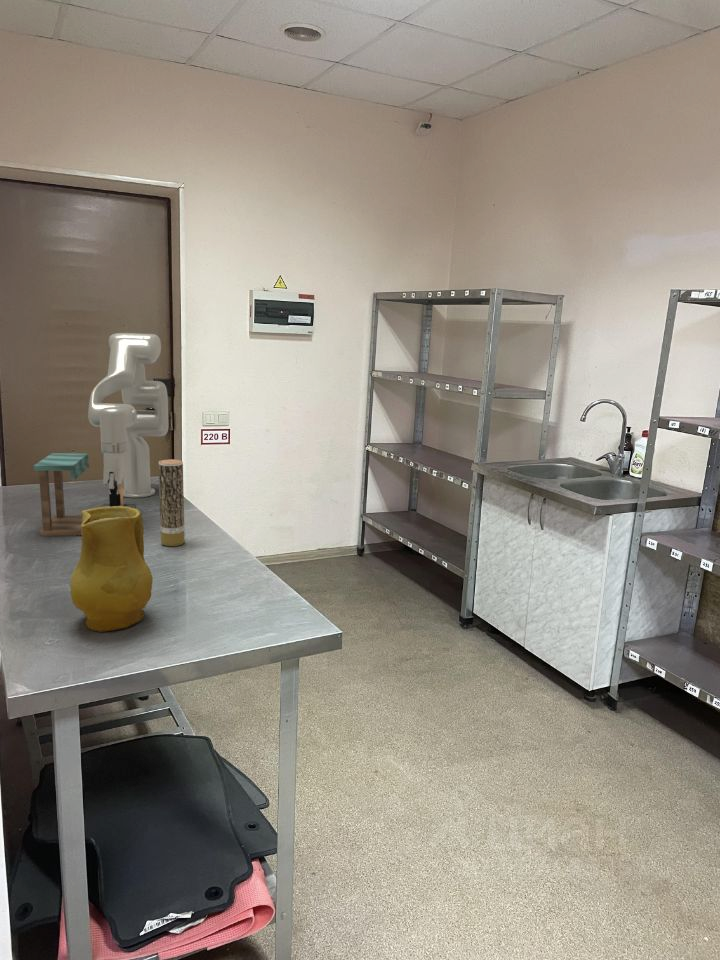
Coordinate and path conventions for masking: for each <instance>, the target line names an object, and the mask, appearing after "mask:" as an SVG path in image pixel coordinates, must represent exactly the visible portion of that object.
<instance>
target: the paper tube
mask: <svg viewBox="0 0 720 960" xmlns="http://www.w3.org/2000/svg"><path fill="white" fill-rule="evenodd" d="M183 463H184V462H183V460H181V459H163V460H162V459H161V460H159V461H158V481H159V482H158V485H159V487H158V488H159V516H160V517H159V518H160V521H159V522H160V523H159V524H160V542H161V545H164V546H166V547H178V546H181V545H182V544H184V543H185V503H184V502H185V501H184V498H185V497H184V492H185V491H184V464H183Z"/></svg>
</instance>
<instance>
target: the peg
mask: <svg viewBox="0 0 720 960" xmlns="http://www.w3.org/2000/svg"><path fill="white" fill-rule="evenodd" d="M114 484H116V483H114ZM114 487H116V490H117V486H114ZM123 489H124V481H122V483H121V484H120V485H119V494H120V501H121V506H124V505H123V504H124V501H123V500H124V496H123Z"/></svg>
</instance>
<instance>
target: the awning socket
mask: <svg viewBox="0 0 720 960" xmlns="http://www.w3.org/2000/svg"><path fill="white" fill-rule="evenodd" d="M89 461H90V460H89V453H59V452H57V453H50V454H48V455H47V456H45V457H44V458H43V459H41V460H40V461H38V462H37V463H35V464H34V465H33V471H35V472H36V471H38V478H39V479H38V481H39V490H40V505H41V508H40V509H41V517H42V518H41V519H42V520H41V521H42V528H41V529H40V530H39V536H40V537H51V536H52V537H54V536H55V537H59V536H60V537H65V536H66V537H70V536H71V537H72V536H74V537H75V536H76V535H82V534H81V531H82V528H81V524H82V515H66V510H65V499H64V497H65V496H64V484H63V483H64V479H63V472H65V471H66V472H67V471H68V472H69V471H70V481H76V479H78V478H79V477H80V476H81V475H82V474H83V473H84V472H85V471H87V470H88V469H89V468H90V466H89V465H90V463H89ZM49 471H50V472H52V471H53V482H54V485H53V486H54V497H55V512H56V515H54V516H53V518H52V509H51V494H50V493H51V491H50V477H49ZM123 505H124V507H130V508H135V509H137V503H123ZM108 506H110V503H103V504H102V505H101V506H100V507H108ZM76 537H77V536H76Z"/></svg>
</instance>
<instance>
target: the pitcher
mask: <svg viewBox="0 0 720 960" xmlns="http://www.w3.org/2000/svg"><path fill="white" fill-rule="evenodd" d="M80 516H82V524H81V528H82V531H81V534H82V536H81V549H80V554H79V559H78V562H77V564H76V567H75V569H74V570H73V573H72V575H71V578H70V584H69V586H70V596H71V597H70V598H71V601H72V604H73V605H74V607H76V609H78V610H79V611H81V612H82V613H83V614H84V616H85V617H86V619H85V621H84V622H85V625H86V627H87V629H89V630H91V631H93V632H94V631H95V632H98V633H99V632H100V633H103V632H104V633H106V632H109V631H110V632H111V631H116V630H121V629H126V628H128V627H130V626H132V625H135V624H136V623H139V622H140V621H142V620H143V618H144V616H145V611H144V610H143V609H144V608H145V607H146V606H147V604H148V602H150V600H151V597H152V590H153V575H152V572H151V569H150V567H149V565H148V564H147V562H146V560H145V556H144V553H145V545H144V544H145V543H144V534H145V533H144V527H143V516H142V513H141V511H140V510H139V508H138V509H137V508H136V509H135V508H130V507H124V506H112V507H110V506H108V507H101V506H100V507H99V506H98V507H94V508H89V509H85V510H84V509H83V510H82V511H81V515H80Z"/></svg>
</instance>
